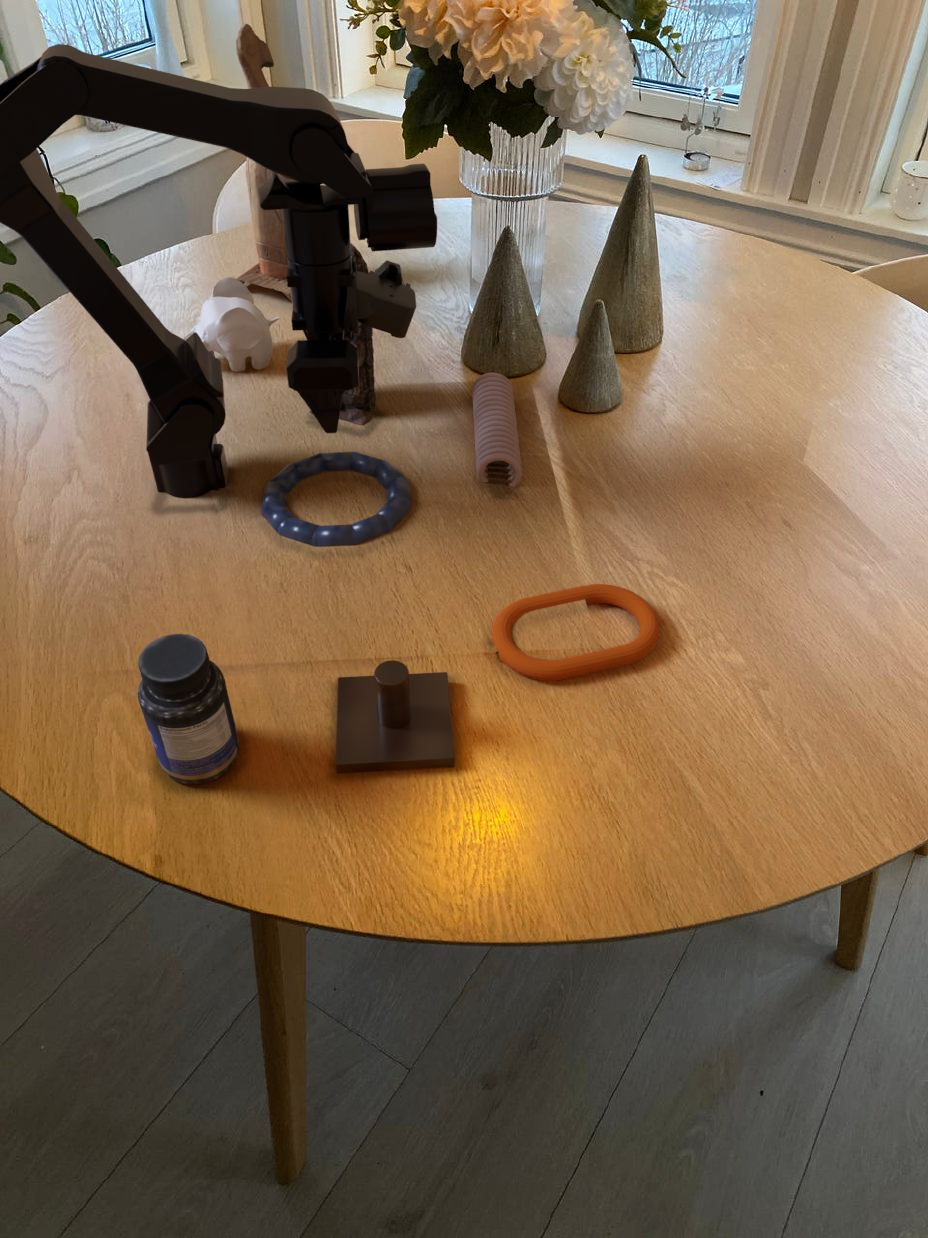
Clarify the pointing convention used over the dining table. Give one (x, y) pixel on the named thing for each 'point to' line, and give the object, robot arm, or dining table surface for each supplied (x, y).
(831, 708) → the dining table surface
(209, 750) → the pill bottle
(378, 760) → the stand
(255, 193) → the bird sculpture
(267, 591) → the dining table surface
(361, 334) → the statue
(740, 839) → the dining table surface
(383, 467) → the ring
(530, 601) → the orange oval loop
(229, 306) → the elephant figurine
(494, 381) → the coil
